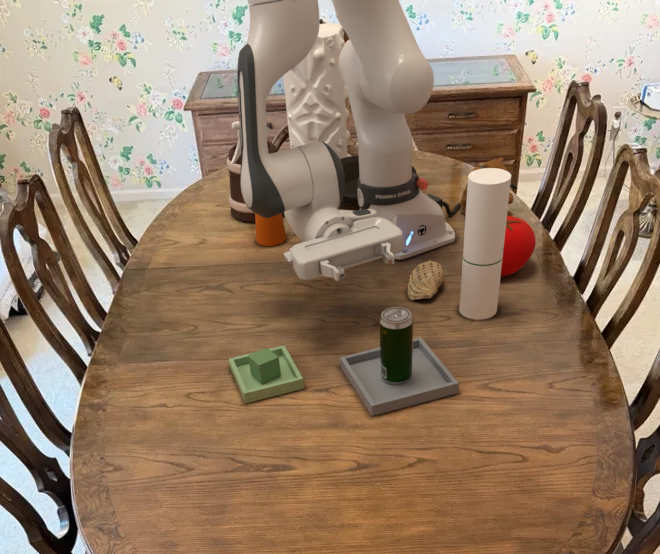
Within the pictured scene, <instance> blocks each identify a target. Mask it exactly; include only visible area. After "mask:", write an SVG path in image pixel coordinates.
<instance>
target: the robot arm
mask: <svg viewBox="0 0 660 554" xmlns="http://www.w3.org/2000/svg"><path fill="white" fill-rule="evenodd" d="M331 2H332V5H333V9H334V12H335V15H336V18H337V20H338V24H340V25H341V26H342V27H343V31H344V33H345V34H346V36H347V37H348V40H347V41H346V42H345V45H344V46H343V48H342V50H341V53H340V56H339V72H340V75H341V77H342V79H343V82H344V84H345V88H346V89H347V93H348V100H349V105H350V110H351V115H352V118H353V123H354V128H355V132H356V140H357V150H358V152H357V153H358V154H357V155H359V175H360V176H359V178H358V190H357V193H358V203H359V206H358V207H359V209H356V210H355V209H354V210H350V209H349V210H348V209H339V207H341V205H342V203H343V201H342V199H343V196H344V191H345V174H344V169H343V165H342V163H341V160H340V158H339V157H338V155H337V154H336V153H335V152H334V150H333V149H332V148H331V147H330V146H329V145H327V144H326V143H324V142H322V141H317V142H312V143H308V144H304V145H300V146H297V147H295V148H291V149H290V148H287V149H284V150H280V151H278V152H276V153H271V154H269V153H268V149H267V141H268V136H267V127H268V126H267V125H268V123H267V99H268V96H269V94H270V92H271V90H272V89H273V87H274V86H275V85H276V83H277V82H278V81H279V80H280V79H281V78H283V75H284V74H286V73H287V72H288V71H290V70H291V69H292V68H294V67H295V66H296V65H297V64H299V63H300V62H301V61H302V60H303V59H304V58H305V57H306V56H307V55H308V53H309V52H310V51H311V49H312V48H313V46H314V44H315V42H316V39H317V37H318V33H319V24H321V23H320V6H319V0H247V4H248V10H249V29H248V30H249V31H248V36H247V40H246V43H245V45H243V47H242V48H241V49H240V50H239V52H238V58H237V70H236V71H237V72H236V73H237V79H236V80H237V102H238V120H239V123H240V141H241V191H242V195H243V198H244V201H245V204H246V206H247V207H248V208H249V209H250V210H251V211H253V212H254V213H256V214H257V215H259V216H262V217H264V218H267V219H268V218H271V217H273V216H276V215H278V214H281V213H283V212H284V215H283V216H284V218H285V220H286V222H287V223H286V224H287V225H288V227H289V228H290V230H291V231H292V233H293V234H294V235H295V236H296V237H297V238H298V240H300V242H299V243H296V244H293V246H291V247H290V248H288V249H287V251H285V252H284V253H283V258H284V260H285V261H286V262H287V263H289V264H292V267H293V270H294V273H295V274H296V275H297V277H298V278H299V279H300V280H302V281H310V280H313V279H316V278H319V277H324V278H325V277H326V278H331V279H333V280H334V281H336V282H339V281H341V280H345V278H346V276H345V273H346V272H345V270H346V269H350V268H353V267H356V266H360V265H364V264H366V263H370V262H373V261H376V260H379V259H381V261H382V264H383V265H385V266H386V267H389V266H391V265H395V260H398V261H399V260H400V261H401V260H405V259H408V258H411V257H414V256H417V255H421V254H423V253H426V252H428V251H429V252H430V251H431V250H434V249H438V248H440V247H443V246H446V245H449V244H452V243H454V242H456V241H455V240H456V232H455V230H454V228H453V226H451V225H450V223H448V222H447V221H446V217H445V213H444V211H443V207H444V208H445V212H446V214H447V216H454V215H455V214H457V212H458V211H459V209H461V206H460V203H459V202H458V203H457V204H456V206H455V207H454V208H453V210H452V211H451V207H450V205H449V204H448V203H447V202H446V201H444V200H443V198H441V197H439V196H436V195H433V194H431V193H429V194H426V193H425V192H423V191H426V190H427V189H428V187H429V182H428V180H426V178H424V177H420V175H418V174H417V175H416V174H414V173H412V166H413V136H412V131H411V129H410V127H409V125H408V123H407V120H406V116H405V115H412V114H416V113H417V112H419V111H420V110H422V109H423V108H424V107H425V106H426V104H427V103H428V102H429V100H430V98H431V96H432V93H433V89H434V85H435V84H434V83H435V75H434V70H433V68H432V65H431V64H430V62H429V61H428V60H427V58H426V57H425V56H424V54H423V52H422V50H421V48H420V46H419V44H418V42H417V40H416V38H415V35H414V33H413V30H412V29H411V26H410V23H409V21H408V19H407V17H406V15H405V12H404V10H403V7H402V4H401V2H400V0H331ZM510 189H513V190H517V189H518V186H517V185H516V184H514V183H511V184H510Z"/></svg>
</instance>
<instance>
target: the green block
mask: <svg viewBox="0 0 660 554" xmlns="http://www.w3.org/2000/svg"><path fill="white" fill-rule="evenodd" d="M254 352H255V353H254ZM254 352H251V353H252V354H250V353H249V354H250V355H248V360H249V366H250V372H251V375H252V376H253V377H254V378H255V379H256V380H258V381H259V382H260V383H261V384H265V383H267V382H269V381H271V380H274V379H276V378H278V377H281V371H280V364H279V357H278V356H277V355H276V354H274V353H273V352H272V351H271V350H270V348H269V347H265V348H262V349H260V350H258V351H254Z"/></svg>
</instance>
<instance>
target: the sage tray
mask: <svg viewBox="0 0 660 554" xmlns="http://www.w3.org/2000/svg"><path fill="white" fill-rule="evenodd" d="M269 349H270V350H271V351H272V352H273V353H274V354H276V355H277V356H278V357H279V364H280V371H281V377H278V378H276V379H274V380H271V381H269V382H267V383H265V384H261V383H260V382H259V381H258V380H256V379H255V378H254V377H253V376H252V375H251V372H250V366H249V360H248V355H250V354H252V353H255V352H256V351H254V352H250V353H247V354H241V355H238V356H233V357H230V358H228V364H229V368H230V371H231V373H232V375H233V378H234V380H235V382H236V385H237V387H238V390H239V392H240V394H241V397H242V398H243V401H244V403H245V404H250V403H253V402H257V401H261V400H264V399H268V398H272V397H277V396H281V395H285V394H288V393H293V392H296V391H301V390H304V389H305V381H304V377H303V375H302V374H301V371H300V370H299V368H298V366H297V365H296V363H295V361H294V359H293V357H292V355H291V354H290V352H289V350H288V349H287V346H286V345H285V344H284V345H283V344H282V345H279V346H275V347H271V348H269Z"/></svg>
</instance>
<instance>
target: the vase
mask: <svg viewBox="0 0 660 554" xmlns="http://www.w3.org/2000/svg"><path fill="white" fill-rule="evenodd" d="M344 39H345V30H344V29H343V27H342V26H341V24H340V23H336V22H325V23H320V24H319V33H318V37H317V39H316V42H315V44H314V46H313V48H312V49H311V51H310V52H309V53H308V55H307V56H306V57H305V58H304V59H303V60H302V61H301V62H300V63H299V64H297V65H296V66H295V67H294V68H292V69H291V70H290V71H288V72H287V73H286V74H284V75H283V76H282V80H283V88H284V98H285V100H284V101H285V108H286V118H287V128H288V140H289V147H290V148H289V149H291V148H295V147H297V146H300V145H304V144H308V143H312V142H317V141H322V142H324V143H326V144H327V145H329V146H330V147H331V148H332V149H333V150H334V152H335V153H336V154H337V155H338V157H339V158H340V159H342V158H345V157H350V156H352V154H350V153H348V143H349V141H350V139H351V132H350V130H349V129H347V120H348V119H349V117H350V111H349V109H348V108H347V107H346V105H347V102H346V101H347V99H349V97H348V93H347V89H346V86H345V84H344V82H343V79H342V77H341V75H340V72H339V56H340V53H341V50H342V48H343V46H344V45H345V43H346V42H345V40H344Z"/></svg>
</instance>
